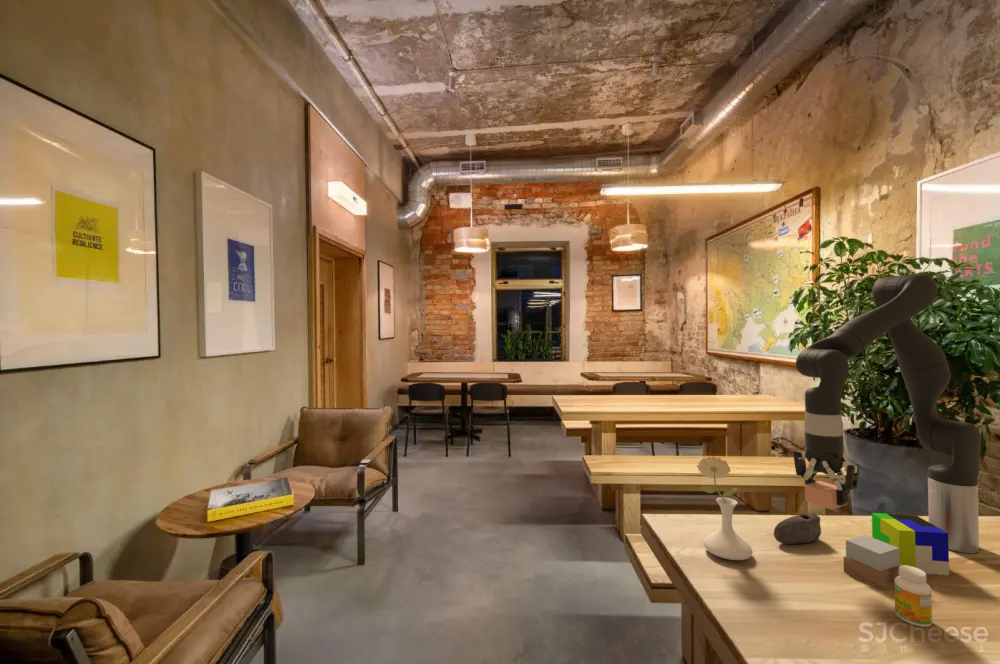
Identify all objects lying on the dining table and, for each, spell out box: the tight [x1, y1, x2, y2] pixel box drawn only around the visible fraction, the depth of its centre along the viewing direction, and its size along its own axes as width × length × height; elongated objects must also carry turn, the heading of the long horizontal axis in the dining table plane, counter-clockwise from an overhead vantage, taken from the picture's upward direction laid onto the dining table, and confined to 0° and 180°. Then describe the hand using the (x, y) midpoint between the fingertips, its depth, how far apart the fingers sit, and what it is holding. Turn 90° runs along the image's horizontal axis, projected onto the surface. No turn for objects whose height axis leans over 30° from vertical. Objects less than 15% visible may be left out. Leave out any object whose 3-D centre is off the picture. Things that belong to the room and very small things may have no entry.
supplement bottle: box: [894, 565, 933, 628], centre depth 87 cm, size 5×5×10 cm
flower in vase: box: [696, 455, 754, 561], centre depth 114 cm, size 13×11×25 cm
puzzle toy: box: [871, 512, 950, 576], centre depth 107 cm, size 10×10×10 cm
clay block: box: [804, 480, 848, 511], centre depth 105 cm, size 6×6×4 cm
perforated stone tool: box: [773, 512, 822, 545], centre depth 119 cm, size 15×5×7 cm, turn 102°
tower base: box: [843, 555, 902, 591], centre depth 101 cm, size 8×8×4 cm
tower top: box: [845, 534, 900, 572], centre depth 102 cm, size 7×7×4 cm
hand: (825, 499), depth 105 cm, fingers closed on clay block, 6 cm apart
